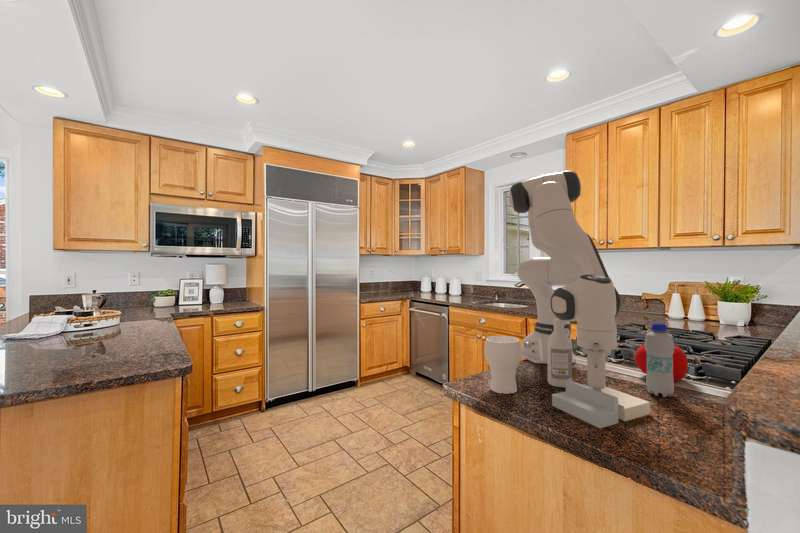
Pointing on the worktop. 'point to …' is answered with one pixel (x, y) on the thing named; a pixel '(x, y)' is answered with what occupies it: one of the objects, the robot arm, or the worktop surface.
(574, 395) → the stepped block
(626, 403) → the cream slotted block
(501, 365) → the cup
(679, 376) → the tomato
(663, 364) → the bottle
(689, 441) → the worktop surface
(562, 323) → the bath foam
